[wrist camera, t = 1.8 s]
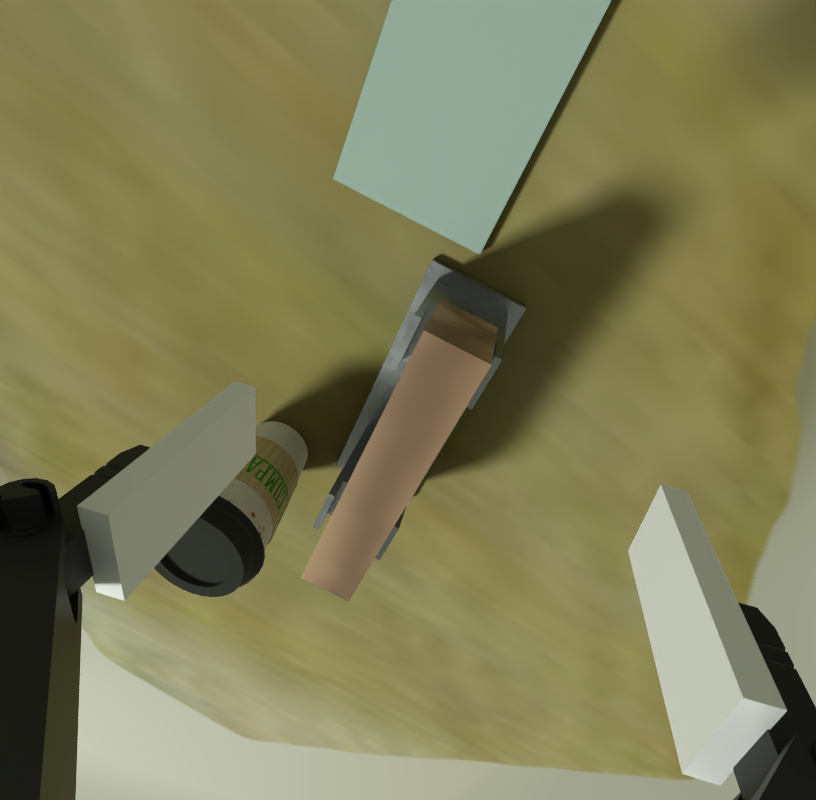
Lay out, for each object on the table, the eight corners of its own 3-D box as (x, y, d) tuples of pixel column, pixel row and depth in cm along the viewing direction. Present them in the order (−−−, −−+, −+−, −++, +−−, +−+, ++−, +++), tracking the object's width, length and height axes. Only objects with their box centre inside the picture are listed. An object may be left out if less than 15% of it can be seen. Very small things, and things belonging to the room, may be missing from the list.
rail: (328, 523, 42) (300, 577, 37) (441, 298, 31) (423, 330, 26) (370, 544, 42) (348, 601, 37) (497, 327, 31) (491, 364, 26)
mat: (337, 178, 37) (332, 178, 36) (515, -357, 24) (515, -375, 23) (480, 252, 37) (479, 254, 36) (734, -237, 24) (741, -252, 23)
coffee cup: (335, 486, 51) (269, 606, 38) (251, 488, 53) (161, 600, 40) (310, 401, 47) (226, 502, 34) (220, 407, 49) (109, 503, 36)
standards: (338, 460, 49) (298, 529, 40) (433, 258, 38) (406, 292, 29) (410, 497, 49) (385, 573, 41) (526, 305, 38) (525, 353, 30)
